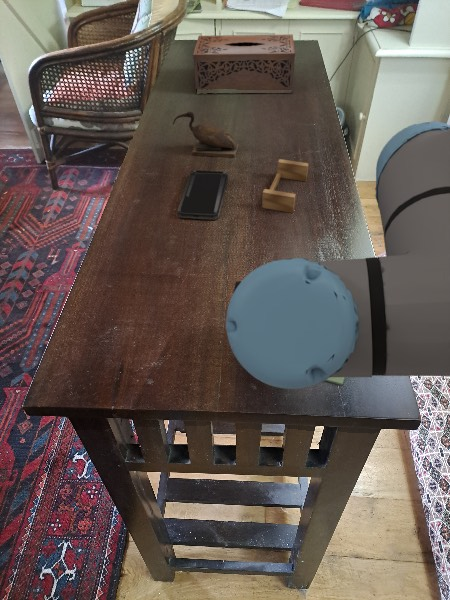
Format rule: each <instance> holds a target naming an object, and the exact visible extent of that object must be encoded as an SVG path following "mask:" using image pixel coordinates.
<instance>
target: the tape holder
mask: <svg viewBox="0 0 450 600" xmlns="http://www.w3.org/2000/svg"><path fill="white" fill-rule="evenodd" d="M308 173H309V163H308V162H303V161H302V162H301V161H297V160H296V161H295V160H290V159H289V160H288V159H284V158H283V159H282V158H279V159H278V161H277V171H276V175H275V177H274V179H273V181H272V183H271V184H270V187H269V189H267V188H264V189H263V191H262V197H261V199H262V201H261V208H262V209H267V210H272V211H279V212H285V213H289V214H294V211H295V206H296V197H297V196H296V193H292V192H286V191H281V190H280V191H279V190H276V189H277V187H278V185H279V182H280V180H281V179H287V180H293V181H299V182H307V180H308V175H309V174H308Z"/></svg>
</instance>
